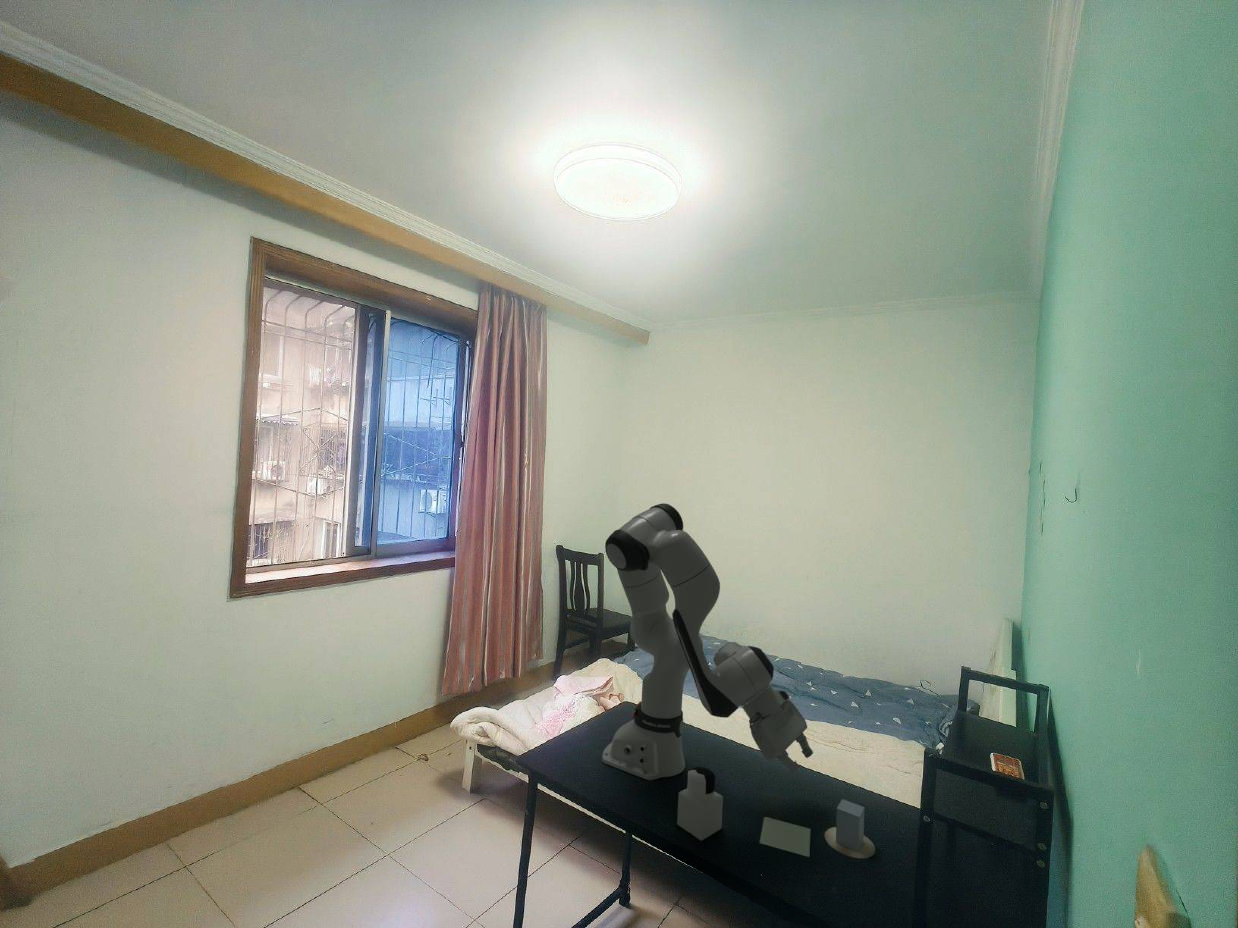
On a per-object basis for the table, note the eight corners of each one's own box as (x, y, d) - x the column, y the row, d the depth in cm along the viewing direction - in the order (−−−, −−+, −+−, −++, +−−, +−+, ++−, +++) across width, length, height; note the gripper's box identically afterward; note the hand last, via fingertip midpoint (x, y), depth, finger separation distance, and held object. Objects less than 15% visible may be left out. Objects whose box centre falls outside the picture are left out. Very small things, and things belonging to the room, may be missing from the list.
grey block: (835, 842, 114) (836, 808, 115) (841, 831, 118) (842, 798, 118) (858, 852, 112) (859, 816, 112) (863, 841, 115) (864, 807, 116)
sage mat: (759, 843, 113) (759, 842, 113) (764, 817, 122) (764, 816, 122) (809, 857, 109) (809, 856, 109) (810, 829, 119) (810, 828, 119)
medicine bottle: (697, 812, 123) (699, 759, 123) (722, 828, 117) (724, 773, 118) (676, 824, 118) (679, 769, 118) (701, 841, 113) (703, 783, 113)
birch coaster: (824, 850, 112) (824, 849, 112) (824, 823, 121) (824, 822, 121) (877, 864, 108) (877, 863, 108) (872, 835, 118) (872, 834, 118)
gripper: (756, 714, 118) (798, 775, 112) (788, 689, 134) (827, 741, 128) (736, 728, 120) (777, 788, 114) (770, 701, 137) (807, 753, 130)
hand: (803, 763), depth 121 cm, fingers open, 8 cm apart
